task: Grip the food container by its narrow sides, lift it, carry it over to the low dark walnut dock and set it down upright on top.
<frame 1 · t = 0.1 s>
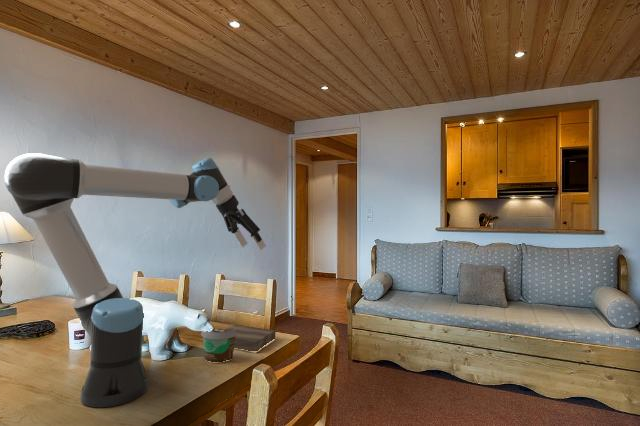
hand: (253, 246, 135), 36 cm above the table, tool tilted 35°, fingers open, 13 cm apart
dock: (244, 343, 133), on the table
food container: (214, 361, 116), on the table
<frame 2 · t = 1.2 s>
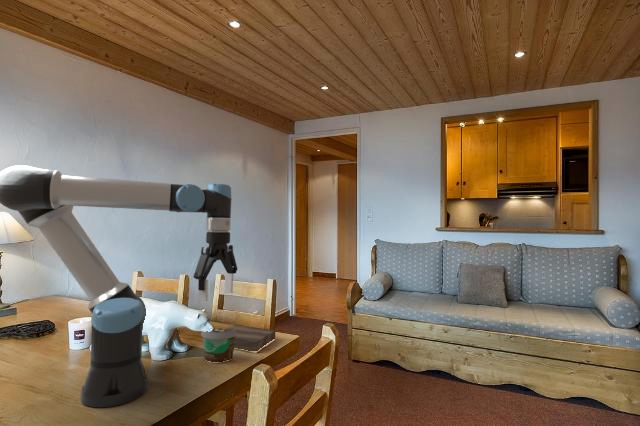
hand: (216, 296, 117), 21 cm above the table, tool pointing down, fingers open, 13 cm apart
nothing on the table moved.
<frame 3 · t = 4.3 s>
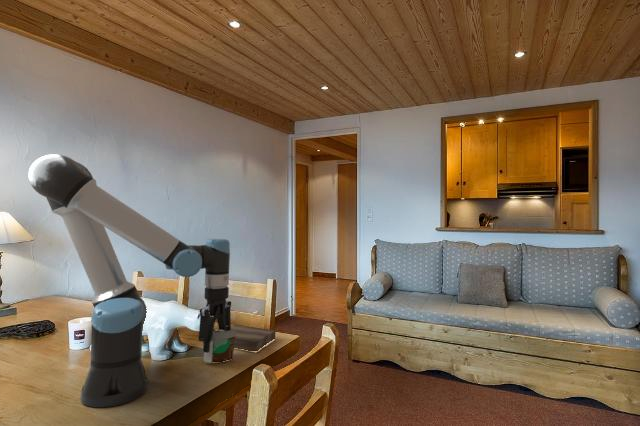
hand: (214, 357, 116), 1 cm above the table, tool pointing down, fingers closed on food container, 6 cm apart
food container: (214, 361, 116), on the table, touching gripper
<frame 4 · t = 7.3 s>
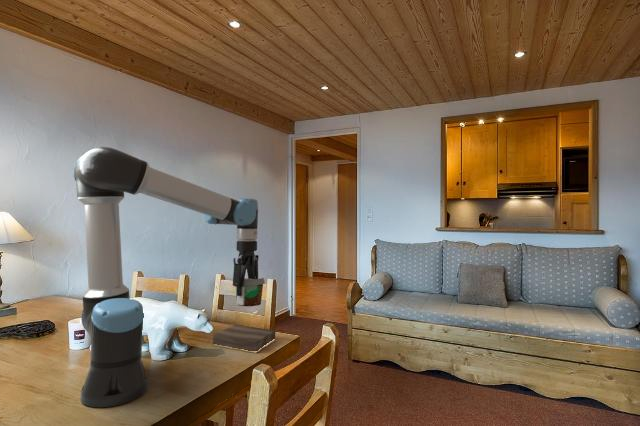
hand: (245, 302, 133), 15 cm above the table, tool pointing down, fingers closed on food container, 6 cm apart
food container: (245, 305, 132), point 14 cm above the table, touching gripper
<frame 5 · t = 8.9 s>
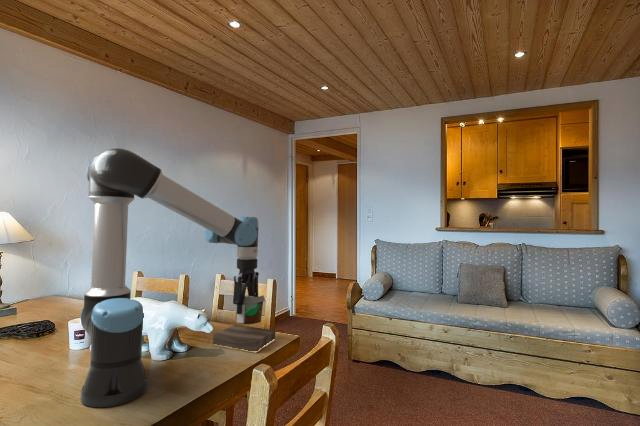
hand: (245, 319, 133), 9 cm above the table, tool pointing down, fingers closed on food container, 6 cm apart
food container: (245, 323, 133), point 7 cm above the table, touching gripper
when the fingers open (6 cm above the table, at t = 10.4 s): food container stays where it is, resting on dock.
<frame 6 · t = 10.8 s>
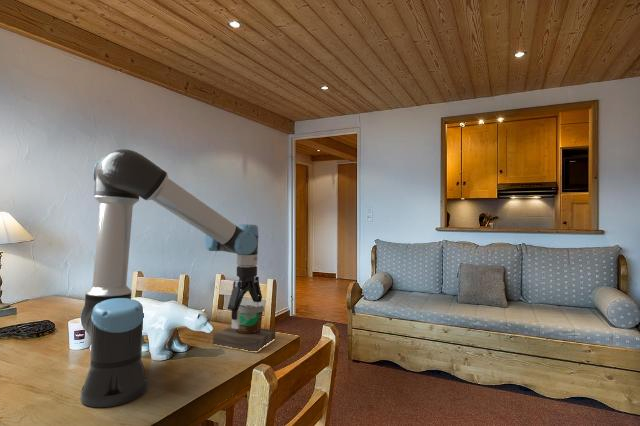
hand: (245, 323, 133), 7 cm above the table, tool pointing down, fingers open, 12 cm apart
food container: (244, 333, 133), point 4 cm above the table, touching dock
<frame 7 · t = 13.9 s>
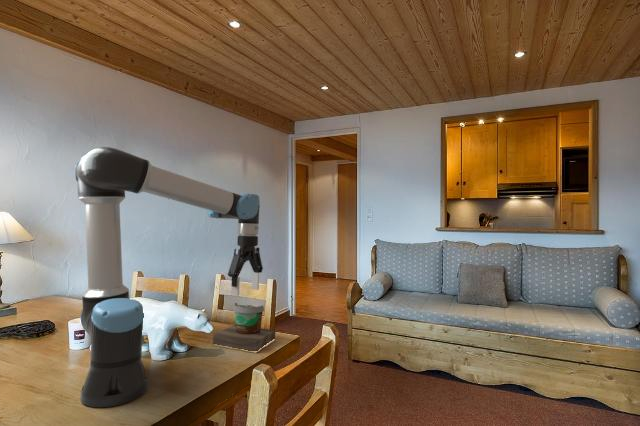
hand: (245, 292, 133), 19 cm above the table, tool pointing down, fingers open, 13 cm apart
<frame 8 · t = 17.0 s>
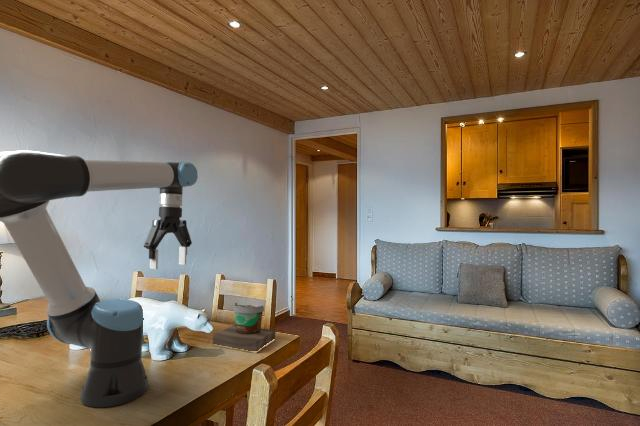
hand: (168, 266, 126), 29 cm above the table, tool pointing down, fingers open, 13 cm apart
at the end: food container inside the target area on the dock (0.3 cm from its centre), point 3.8 cm above the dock's base; food container tilted 0°; the gripper is holding nothing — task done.
